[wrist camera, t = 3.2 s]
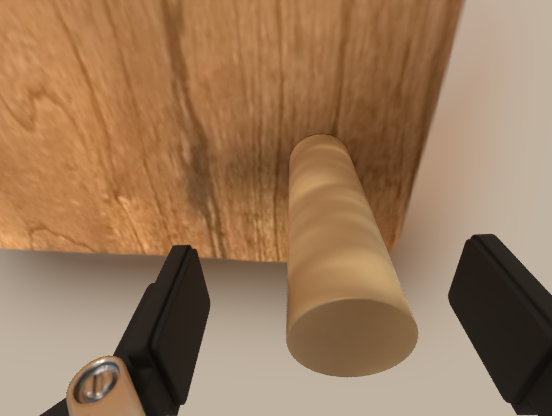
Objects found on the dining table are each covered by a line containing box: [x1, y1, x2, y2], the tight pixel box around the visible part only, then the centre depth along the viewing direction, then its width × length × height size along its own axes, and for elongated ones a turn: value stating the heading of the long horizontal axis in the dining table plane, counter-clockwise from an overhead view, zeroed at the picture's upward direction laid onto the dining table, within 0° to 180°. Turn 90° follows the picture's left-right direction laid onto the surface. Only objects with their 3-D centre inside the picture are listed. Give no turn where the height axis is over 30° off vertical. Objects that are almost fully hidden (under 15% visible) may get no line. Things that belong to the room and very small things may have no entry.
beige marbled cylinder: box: [286, 134, 418, 377], centre depth 14 cm, size 4×4×12 cm
